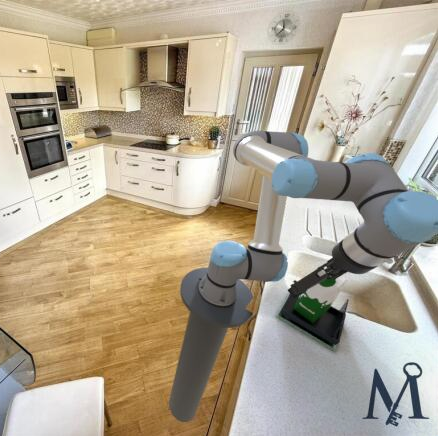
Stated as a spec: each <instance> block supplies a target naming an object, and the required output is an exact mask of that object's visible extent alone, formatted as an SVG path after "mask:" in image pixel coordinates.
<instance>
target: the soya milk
mask: <svg viewBox="0 0 438 436" xmlns="http://www.w3.org/2000/svg"><path fill="white" fill-rule="evenodd" d="M326 268H327V267H324V269H326ZM347 280H348V278H346V277H344V276H343V275H342V276H340V277H338V278H337V279H335V280H334V279H331V280H328V279H326V280H324V281H322V282H321V283H319V284H317V285H315V286H313V287H312V288H310V289H308V290H307V291H306V292H305V293H303V294H302V295H300V296H299V298H298V300H297V302H296V305H295V307H294V310H295V311H297V312H298V313H299V314H301V315H302V316H304V317H305V318H306V319H308V320H309V321H311V322H312V323H314V322H315V321H317V320H318V319H319V318H320V317H321V316H322V315H323V314H324V313H325V312H326V311H327V310H328V309H329V308H330V307H331V306H332V305H333V304H334V302H335V300H336V299H337V298H338V296H339V295H340V293H341V292H342V291H343V288H344V286H345V283H346V282H347Z"/></svg>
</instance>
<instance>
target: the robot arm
mask: <svg viewBox="0 0 438 436" xmlns="http://www.w3.org/2000/svg"><path fill="white" fill-rule="evenodd" d="M232 154H233V157H234V159H235V161H237V162H238V163H239V164H241V165H243V166H245V167H252V168H253V169H254V170H256V171H258V172H259V173H260V175H262V181H261V187H260V193H259V201H258V207H257V214H256V220H255V227H254V233H253V239H251V241H249V242H248V243H247V244H248V245H247V248H246V247H245V246H244V245H243V244H242V243H239V242H238V243H237V242H236V241H233V240H223V241H220V242H218V243H217V244H215V245H214V246H213V248H212V251H211V254H210V258H209V261H208V266H207V268H208V270H207V273H206V275H205V276H204V277H203V278H199V280H201V281H200V283H199V287H198V291H199V294H200V296H201V297H202V298H203V299H204V300H205V301H206V302H207V303H209V304H211V305H213V306H216V307H222V308H224V307H229V306H231V305H233V304H234V302H235V300H236V297H237V290H236V282H237V280H238V279H240V280H246V281H257V282H265V283H271V282H274V283H276V282H279V281H280V280H282V279H283V278H284V277H285V276H286V274H287V272H288V269H289V261H287V260H288V257H287V255H286V253H285V252H283V251H284V250H283V249H284V248H283V247H282V245H281V244H280V239H281V234H282V229H283V223H284V216H285V212H286V211H285V210H286V205H287V200H288V199H287V198H290V199H291V198H292V199H308V200H309V199H311V200H323V201H324V200H326V201H337V202H338V201H339V202H352V203H353V204H354V207H355V208H356V210H357V211H358V214H360V216H361V217H362V219H363V222H362V223H361V224H360V225H358V226H357V227H356V228H355V229H354V230H352V231H351V232H350V233H348V234H347V235H345V236H344V238H343V239H341V240H340V241H339V242H338V243H337V244H335V245H334V246H333V248H332V249H331V258H330V259H328V260H327V261H326V262H325V263H323V264H322V265H320V266H317V268H316V269H315V270H313V271H311V272H310V273H309V274H306V275H305V276H303V277H302V278H300V279H299V280H296V279H295V280H293V281H292V282H293V283H291V285H290V287H289V288H288V289H287V292H288V294H291V296H292V297H293V298H294V299H295V298H297V297H298V296H300V295H302V294H303V293H305V292H306V291H307V290H308V289H310V288H312V287H313V286H315V285H317V284H319V283H321V282H322V281H324V280H326V279H328V280H331V279H334V280H335V279H337V278H338V277H340V276H342V277H343V276H344V275H345V274H347V273H350V274H354V275H365V274H367V273H369V272H371V271H372V270H375V269H376V268H378V267H379V266H381V265H383V264H385V263H387V265H392V264H393V263H394V258H396V257H398V256H399V255H401V254H403V253H405V252H407V251H409V250H411V249H413V248H414V247H417V246H418V245H420V244H423V243H425V242H428V241H430V240H431V239H433V238H434V237H435V236H436V235H438V198H437V196H435V195H434V194H431V193H428V192H425V191H419V190H409V189H408V187H407V186H406V185H405V183H404V182H403V181H402V179H401V178H400V176H399V175H398V174H397V172H396V171H395V169H394V167H393V165H391V164H390V163H389V162H388V161H387V160H386V159H385V157H384V156H382V155H380V154H378V153H374V152H366V153H365V154H361V155H360V154H359V155H354V156H353V157H351V158H349V159H348V160H346V161H345V162H344V161H330V160H329V161H328V160H319V159H313V158H311V157H308V156H309V143H308V141H307V139H306V138H305V136H303V135H302V134H300V133H293V132H291V131H288V132H285V131H268V130H252V131H248V132H246V133H244V134H241V136H240V137H238V138H237V139H236V141H235V143H234V145H233V149H232ZM324 267H326V269H324Z"/></svg>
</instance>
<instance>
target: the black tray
mask: <svg viewBox="0 0 438 436" xmlns="http://www.w3.org/2000/svg"><path fill="white" fill-rule="evenodd" d="M298 298H299V296H298V297H297V298H295V299H294V298H293V297H292V296H291V294H290V293H288V295H287V298H286V299H285V301H284V303H283V304H282V306H281V308H280V311H279V312H278V314H277V315H276V318H277V319H279V320H281V321H283V322H284V323H286V324H287V325H289V326H290V327H292V328H294V329H295V330H298V331H299V332H301V333H302V334H304V335H306V336H307V337H309V338H311V339H312V340H314V341H315V342H317V343H319V344H321V345H322V346H324V347H325V348H327V349H329V350H330V351H331V352H335V351H336V348H337V345H339V344H340V342H341V337H342V333H343V329H344V325H345V321H346V317H347V313H346V312H347V309H348V304H349V298H347V299H346V300H345V301H344V303H343V305H342V306H341V308H340V309H338V308H336V307H334V306H332V305H331V307H330V308H329V309H328V310H327V311H326V312H325V313H324V314H323V315H322V316H321V317H320V318H319V319H318V320H317V321H315V322H314V323H312V322H311V321H309V320H308V319H306V318H305V317H304V316H302V315H301V314H299V313H298V312H297V311H295V310H294V307H295V305H296V302H297V300H298Z"/></svg>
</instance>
